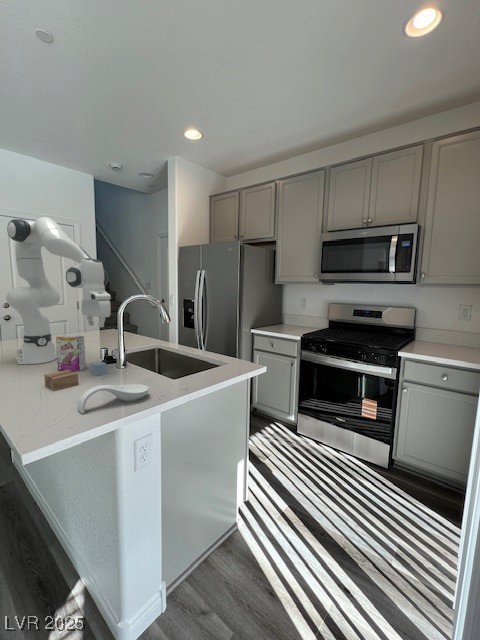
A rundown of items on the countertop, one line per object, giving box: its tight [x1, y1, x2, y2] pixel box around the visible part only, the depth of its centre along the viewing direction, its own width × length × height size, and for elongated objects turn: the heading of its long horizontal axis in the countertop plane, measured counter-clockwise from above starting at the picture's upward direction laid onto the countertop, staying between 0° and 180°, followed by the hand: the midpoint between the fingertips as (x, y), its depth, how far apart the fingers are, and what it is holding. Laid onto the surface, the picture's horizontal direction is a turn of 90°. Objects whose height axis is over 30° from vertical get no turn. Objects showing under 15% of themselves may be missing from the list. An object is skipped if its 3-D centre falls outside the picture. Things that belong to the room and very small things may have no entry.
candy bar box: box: [55, 334, 87, 372], centre depth 140 cm, size 11×5×16 cm, turn 84°
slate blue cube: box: [89, 361, 108, 377], centre depth 135 cm, size 5×5×5 cm
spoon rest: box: [76, 383, 150, 414], centre depth 103 cm, size 24×12×7 cm, turn 137°
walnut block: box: [43, 370, 79, 392], centre depth 119 cm, size 9×9×5 cm
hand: (96, 326), depth 132 cm, fingers open, 8 cm apart
